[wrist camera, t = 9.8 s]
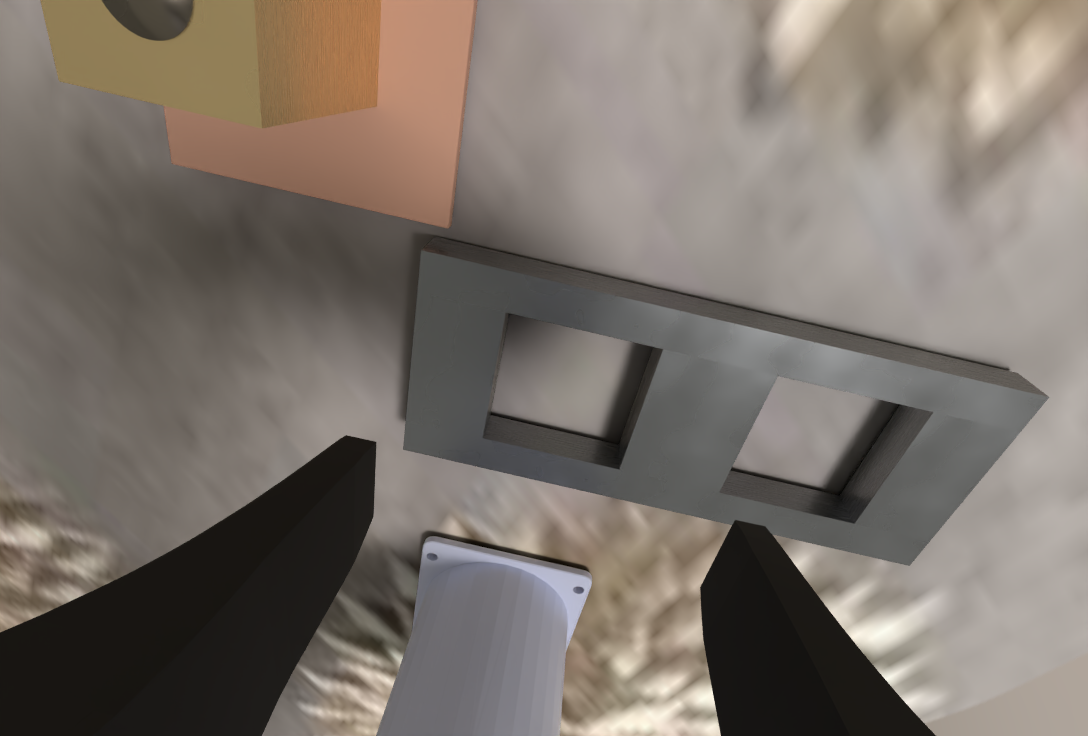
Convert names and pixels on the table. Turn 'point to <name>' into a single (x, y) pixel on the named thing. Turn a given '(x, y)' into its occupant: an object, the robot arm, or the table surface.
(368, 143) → the terracotta mat
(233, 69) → the cube with round inset
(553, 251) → the table surface
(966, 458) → the metal rail
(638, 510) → the table surface
